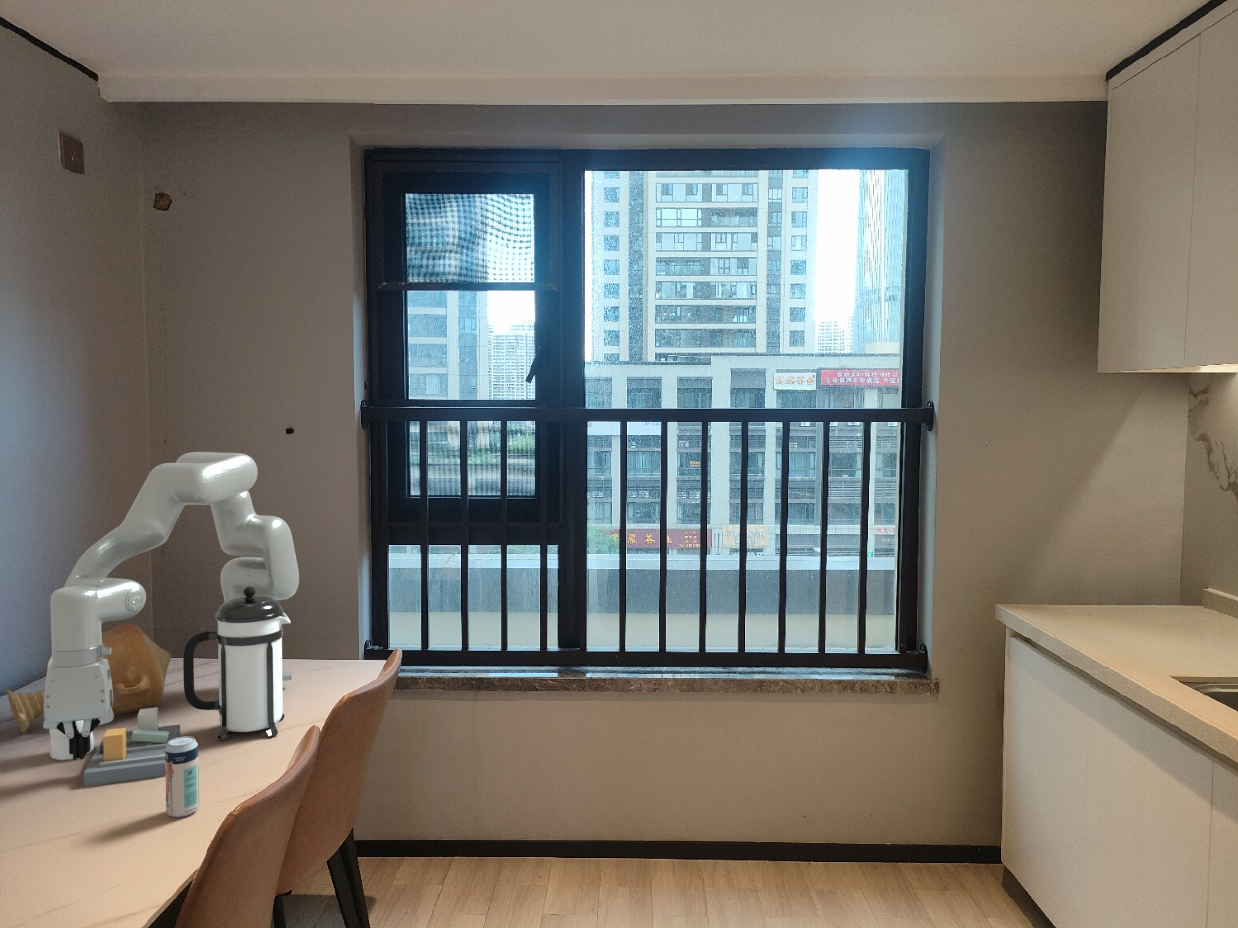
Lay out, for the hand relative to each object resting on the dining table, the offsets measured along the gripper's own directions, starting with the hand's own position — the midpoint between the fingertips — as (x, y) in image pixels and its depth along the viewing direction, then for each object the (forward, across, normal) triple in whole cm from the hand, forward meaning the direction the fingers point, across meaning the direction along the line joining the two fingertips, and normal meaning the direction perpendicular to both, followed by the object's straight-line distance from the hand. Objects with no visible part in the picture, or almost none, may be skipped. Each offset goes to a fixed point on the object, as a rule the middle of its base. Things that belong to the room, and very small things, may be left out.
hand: (80, 756), depth 151 cm
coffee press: (+4, -26, -14) cm, 30 cm away
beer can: (+4, -19, +21) cm, 29 cm away
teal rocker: (-1, -10, -5) cm, 12 cm away
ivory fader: (+1, -9, -10) cm, 14 cm away
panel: (+4, -8, -5) cm, 10 cm away
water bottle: (+4, +4, -12) cm, 13 cm away
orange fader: (+1, -6, 0) cm, 6 cm away
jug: (+4, +4, -34) cm, 34 cm away
